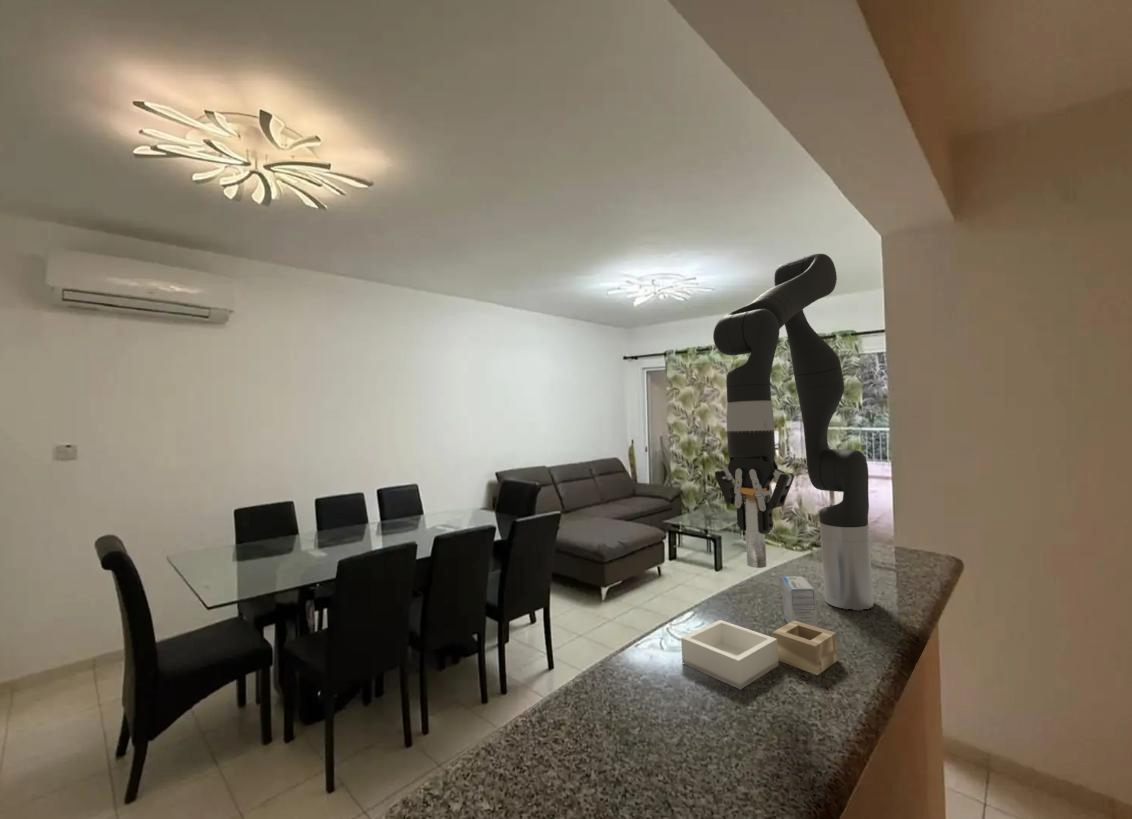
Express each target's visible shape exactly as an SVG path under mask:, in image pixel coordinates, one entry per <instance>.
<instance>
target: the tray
mask: <svg viewBox="0 0 1132 819" xmlns="http://www.w3.org/2000/svg"><path fill="white" fill-rule="evenodd" d="M680 642H681V661H682V664H683V663H684V664H683V665H685V664H686V665H685V666H687V665H688V666H687V667H690V668H691V669H694V670H696V671H699V672H701V673H703V674H705V675H707V676H709V677H712V678H714V679H716V680H719V681H720V682H723V683H725V684H727V685H729V686H731V687H734V688H736V689H738V690H739V691H741V690H742V689H743V688H745V687H747V686H748V685H750V684H752V683H753V682H755V681H756V680H759V678H761V677H763V676H764V675H766V674H767V673H769V672H770V671H772V670H774V669H776V668H777V667H778V666H779V665H780V664H779V662H780V661H778V645H777V639H776V638H773V636H769V635H766V634H764V633H761V632H758V631H755V630H752V629H749V628H745V627H743V626H740V625H736V624H735V623H731V622H729V621H728V622H727V621H725V620H722V619H719V620H717V621H714V622H712V623H710V624H707V625H706V626H704V627H701V628H699V629H697V630H695V631H693V632H690V633H688V634H686V635H684V636H682V637H680Z"/></svg>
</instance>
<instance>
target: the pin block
mask: <svg viewBox="0 0 1132 819" xmlns="http://www.w3.org/2000/svg"><path fill="white" fill-rule="evenodd" d="M772 637H773V638H776V639H777V645H778V661H779V662H781V663H784V664H786V665H788V666H791V667H794V668H796V669H799V670H802V671H805V672H808V673H810V674H813V675H816V676H818V675H820V674H822V673H823V672H824V671H826V670H827V669H828V668H830V667H831V666H832V665H834V664H836V663H837V662H838V661H839V656H838V655H839V654H838V653H839V652H838V639H837V638H838V637H837V632H835V631H830V630H827V629H824V628H821V627H819V626H818V627H815V626H811V625H808V624H804V623H801V622H798V621H792V622H790V623H786V624H785V625H783V626H782V627H779V628H778V629H776V630H774V631H772Z"/></svg>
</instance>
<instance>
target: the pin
mask: <svg viewBox="0 0 1132 819" xmlns="http://www.w3.org/2000/svg"><path fill="white" fill-rule="evenodd" d="M757 490H758V489H757ZM762 490H763V491H767V487H766V488H762ZM740 493H741V494H744V505H745V527H746V531H745V541H746V542H745V545H746V547H745V548H746V564H747V567H751V568H754V569H755V568H757V569H758V568H759V569H762V568H766V567H767V549H766V534H761V533H760V532H759V513H758V511H761V510H760V509H759V505H758V500H757V497H756V496H755V495H756V494H755V489H754V488H748V487H740Z"/></svg>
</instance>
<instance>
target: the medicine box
mask: <svg viewBox="0 0 1132 819" xmlns="http://www.w3.org/2000/svg"><path fill="white" fill-rule="evenodd" d="M780 580H781V584H780V585H781V596H782V608H783V609H782V610H783V611H782V612H783V618H784V620H785V621H786V624H788V623H790V622H792V621H798V622H801V623H804V624H808V625H811V626H815V627H818V628H819V624H818V612H817V600H816V599H817V598H816V590H815V588H814V587H813V586H812V584H810V583H809V581H807V579H806V578H805V577H804V576H793V575H792V576H791V575H790V576H781V579H780Z"/></svg>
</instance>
